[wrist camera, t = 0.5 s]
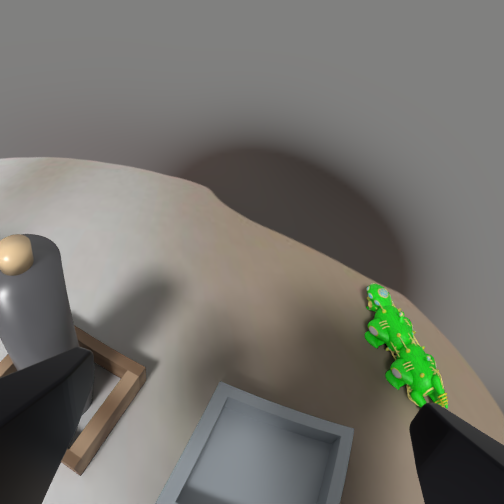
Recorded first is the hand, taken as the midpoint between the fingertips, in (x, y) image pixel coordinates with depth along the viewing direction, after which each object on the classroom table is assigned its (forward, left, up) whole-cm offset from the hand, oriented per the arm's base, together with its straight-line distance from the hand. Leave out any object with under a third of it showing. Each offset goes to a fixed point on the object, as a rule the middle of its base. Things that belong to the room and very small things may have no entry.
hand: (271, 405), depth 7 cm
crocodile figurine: (+21, -14, -17) cm, 30 cm away
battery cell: (+2, +13, -16) cm, 21 cm away
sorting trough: (+3, -3, -16) cm, 17 cm away
